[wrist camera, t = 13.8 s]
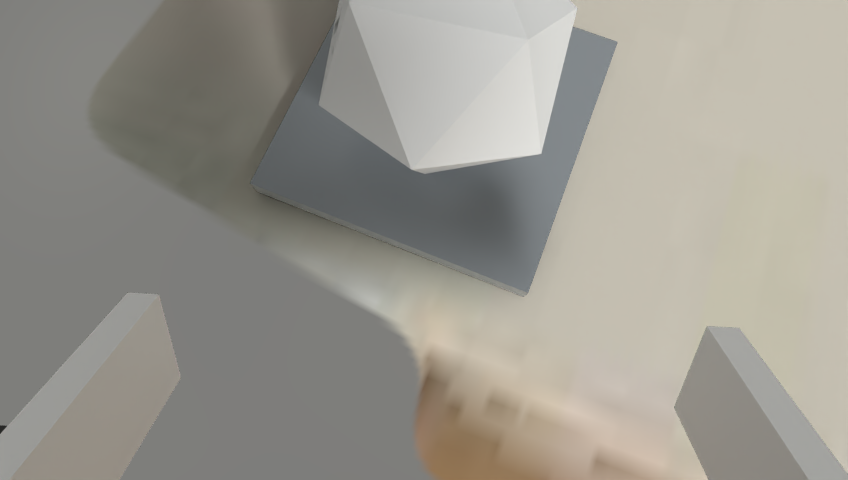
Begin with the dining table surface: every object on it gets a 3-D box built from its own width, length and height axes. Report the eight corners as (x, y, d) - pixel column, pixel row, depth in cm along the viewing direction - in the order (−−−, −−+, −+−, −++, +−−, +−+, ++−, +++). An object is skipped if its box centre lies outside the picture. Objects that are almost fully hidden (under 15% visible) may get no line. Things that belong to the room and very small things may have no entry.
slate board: (609, 55, 24) (617, 41, 23) (523, 296, 21) (527, 292, 20) (369, -27, 25) (367, -43, 24) (257, 191, 22) (249, 183, 21)
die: (446, -3, 24) (279, -128, 16) (633, -7, 19) (522, -190, 12) (408, 170, 25) (233, 130, 17) (578, 208, 20) (440, 174, 12)
